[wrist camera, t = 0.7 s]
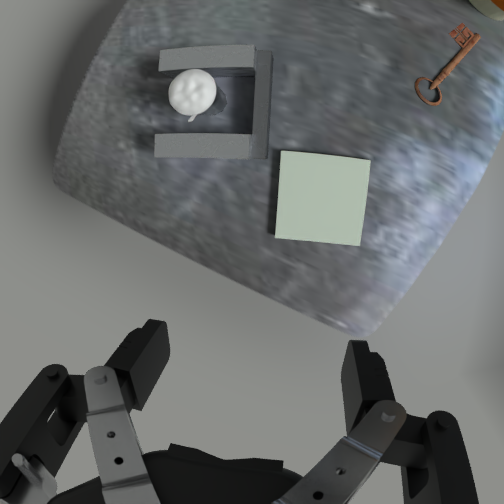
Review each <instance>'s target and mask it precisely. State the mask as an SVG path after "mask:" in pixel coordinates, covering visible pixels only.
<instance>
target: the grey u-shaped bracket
mask: <svg viewBox="0 0 504 504" xmlns="http://www.w3.org/2000/svg"><path fill="white" fill-rule="evenodd" d="M190 69H200V70H203V71H205V72H207V73H209V74H210V75H211V76H212V77H255V94H254V112H253V130H252V135H250V134H220V133H175V134H155V153H154V157H198V158H229V159H267V158H268V145H269V128H270V110H271V92H272V73H273V55H272V51H263V50H257V49H256V47H255V45H217V46H199V47H186V48H176V49H167V50H160V60H159V72H161V73H163V74H166V75H168V76H170V77H172V78H174V79H175V78H176V77H177V76H178V75H179V74H180V73H182V72H184V71H186V70H190Z"/></svg>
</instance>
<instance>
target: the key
mask: <svg viewBox="0 0 504 504" xmlns="http://www.w3.org/2000/svg"><path fill="white" fill-rule="evenodd" d="M464 27H465V25H464V24H463V23H462V24H460V25H459V26H458V27H457V28H458V30H459V31H461V30H462V29H463V28H464ZM455 29H456V28H455ZM456 30H457V29H456ZM458 30H457V31H458ZM459 31H458V32H459ZM467 32H468V33H469V34H470V35H471V37H470V38H469V39H468V40H467V39H466V38H468V37H469V36H470V35H469V34H468V33H467ZM459 33H460V32H459ZM461 33H462V34H463V35H464V36H465V37H466V38H465V37H464V36H463V35H462V34H461ZM461 33H460V35H461V36H462V37H463V38H464V39H465V40H466V41H467V42H466V43H465V44H464V45H462V44H461V43H463V42H464V41H465V40H464V39H463V38H462V37H461V36H460V35H459V36H458V37H457V38H456V39H455V41H456V42H457V43H458V44H459V45H460V46H461V47H462V50H461V51H460V52H459V53H458V54H457V55H456V56H455V57H454V58H453V60H452V61H451V62H450V63H449V64H448V65H447V66H446V67H445V68H444V69H443V70H442V72H441V73H440V75H439V76H437V77H436V79H435V80H434V81H432V80H430V79H428V78H424V77H421V78H419V79H417V81H416V83H415V89H416V92H417V94H418V96H419V97H420V98H421V99H422V100H423V101H424V102H425V103H427V104H429V105H433V106H436V105H439V104H440V103H441V100H442V94H441V91H440V89H439V87H438V85H439V84H440V83H441V82H442V81H443V79H445V78H446V76H448V75H449V73H450V72H451V71H452V70H453V69H454V68H455V66H456V65H457V64H458V63H459V62H460V61H461V60H462V59H463V57H464V56H465V55H466V54H467V53H468V52H469V51H470V49H471V48H472V47H473V46H474V45H475V44H476V43H477V41H478V40H479V39H480V38H481V37H480V35H479V34H477V33H476V34H475V35H474V34H473V33H472V32H471V31H470V30H469V29H468V28H467V27H466V28H465V29H464V30H463V31H462V32H461ZM449 34H450V35H451V37H452V38H454V37H455V36H456V35H457V34H458V33H457V32H456V31H455V30H453V31H451V33H449ZM459 41H460V42H461V43H460V42H459ZM422 79H425V80H428V81H430V82H431V86H430V90H432V89H434V88H437V90H438V93H439V100H438V101H437V102H436V103H432V102H430V101H428V100H426V99H425V98H424V97H423V96H422V95H421V93H420V91H419V88H418V83H419V81H420V80H422Z"/></svg>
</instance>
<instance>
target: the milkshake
mask: <svg viewBox="0 0 504 504" xmlns="http://www.w3.org/2000/svg"><path fill="white" fill-rule="evenodd" d="M169 101H170V104H171V106H172V107H173V108H174V109H175V110H176V111H178V112H179V113H181V114H183V115H192V116H191V118H190V119H189V120H188V122H192V121H193V120H194V118H195V117H196V115H217V114H219V113H220V112H222V111H223V110H224V108H225V107H226V105H227V99H226V95H225V93H224V92H223V91H222V90H221V89H220V88H219V86H218V85H217V84H216V82H215V81H214V79H213V77H212V76H211V75H210V74H209V73H207V72H205V71H203V70H200V69H190V70H186V71H184V72H182V73H180V74H179V75H178V76H177V77H176V78H175V79H174V80H173V81H172V82H171V84H170V87H169Z"/></svg>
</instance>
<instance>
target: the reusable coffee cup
mask: <svg viewBox="0 0 504 504" xmlns="http://www.w3.org/2000/svg"><path fill="white" fill-rule="evenodd" d="M469 1H470V2H471V4H472V5H473V6H474V7H475V8H476V9H477V10H478V11H480V12H481V13H482V14H484V15H485V16H487V17H489V18H491V19H493V20H499V21H500V20H504V0H469Z"/></svg>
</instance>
